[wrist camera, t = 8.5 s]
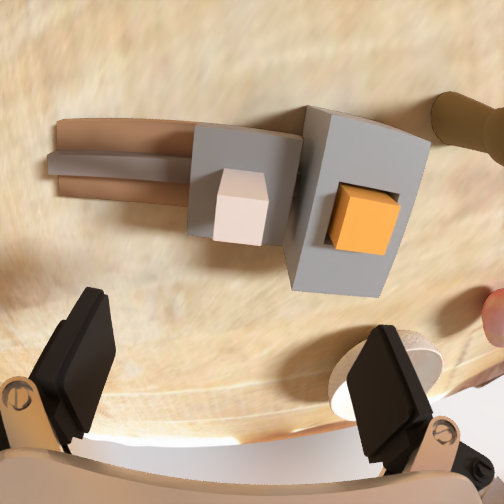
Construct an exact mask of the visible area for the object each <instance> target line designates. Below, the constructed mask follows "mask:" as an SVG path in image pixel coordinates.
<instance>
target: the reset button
mask: <svg viewBox="0 0 504 504" xmlns="http://www.w3.org/2000/svg"><path fill="white" fill-rule="evenodd" d="M400 207H401V206H400V205H399V204H398V203H396V202H395V201H394V200H393V199H392V198H391V197H390V196H389V195H388V194H387V193H386V192H385V191H383V190H380V189H375V188H370V187H365V186H360V185H355V184H350V183H344V182H339V184H338V188H337V193H336V197H335V201H334V205H333V209H332V213H331V216H330V220H329V224H328V228H327V232H328V234H329V236H330V238H331V240H332V242H333V245H334V247H335V249H339V250H347V251H354V252H362V253H370V254H378V255H385V252H386V249H387V246H388V243H389V241H390V238H391V235H392V232H393V229H394V226H395V223H396V220H397V217H398V214H399V211H400Z"/></svg>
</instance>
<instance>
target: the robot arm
mask: <svg viewBox="0 0 504 504" xmlns="http://www.w3.org/2000/svg"><path fill="white" fill-rule="evenodd" d="M115 353H116V347H115V341H114V335H113V328H112V322H111V314H110V307H109V299H108V295H105V294H104V292H103V290H101V289H96V288H91V287H86V288H85V290H84V291H83V293H82V294H81V296H80V298H79V299H78V301H77V303H76V304H75V306H74V307H73V309H72V311H71V312H70V314H69V316H68V318H67V319H66V320H62V321H60V323H59V324H58V325H57V327H56V329H55V331H54V332H53V334H52V336H51V338H50V339H49V341H48V343H47V345H46V346H45V348H44V350H43V352H42V354H41V355H40V357H39V359H38V361H37V363H36V365H35V367H34V368H33V370H32V372H31V374H30V376H29V378H26V377H20V376H17V377H12V378H10V379H8V380H6V381H5V382H4V383H3V384H2V386H1V387H0V504H504V483H503V482H502V480H501V479H500V478H499V477H498V476H497V477H495V478H494V473H495V472H494V467H493V464H492V463H491V461H490V460H489V459H488V458H487V457H485V456H484V455H482V454H480V453H479V452H477V451H475V450H474V449H472V448H470V447H469V446H467V445H466V444H464V443H462V442H461V441H460V431H459V428H458V426H457V425H456V424H455V422H454V421H453V420H451V419H450V418H448V417H445V416H437V417H435V418H433V417H432V413H433V411H432V409H431V406H430V404H429V401H428V399H427V397H426V394H425V392H424V390H423V387H422V385H421V383H420V380H419V378H418V376H417V373H416V371H415V369H414V367H413V364H412V362H411V360H410V358H409V356H408V354H407V351H406V349H405V347H404V345H403V343H402V341H401V339H400V337H399V334H398V332H397V330H396V328H395V327H394V326H393V325H378V326H377V327H376V328H374V329H373V330H372V331H371V333H370V335H369V337H368V339H367V340H366V342H365V344H364V346H363V348H362V350H361V351H360V353H359V355H358V357H357V359H356V360H355V362H354V364H353V366H352V367H351V369H350V371H349V372H348V374H347V378H346V383H347V387H348V391H349V395H350V398H351V402H352V406H353V410H354V414H355V418H356V422H357V426H358V430H359V435H360V439H361V443H362V447H363V452H364V455H365V456H367V457H368V459H369V463H376V462H383V466H384V467H383V469H382V471H381V473H380V475H379V476H378V477H376V478H368V479H361V480H354V481H344V482H333V483H320V484H303V485H302V484H300V485H249V484H230V483H217V482H206V481H197V480H189V479H182V478H175V477H168V476H162V475H156V474H151V473H146V472H141V471H136V470H131V469H127V468H122V467H117V466H114V465H110V464H105V463H102V462H98V461H94V460H90V459H87V458H82V457H79V456H75V455H74V454H73V452H72V450H71V448H70V446H69V444H70V443H71V440H72V437H76V438H79V439H82V438H83V435H84V433H88V432H89V431H90V428H91V425H92V421H93V418H94V415H95V412H96V409H97V406H98V403H99V400H100V397H101V394H102V391H103V388H104V386H105V383H106V380H107V377H108V374H109V371H110V369H111V366H112V363H113V361H114V358H115Z"/></svg>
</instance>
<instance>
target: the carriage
mask: <svg viewBox="0 0 504 504" xmlns="http://www.w3.org/2000/svg"><path fill="white" fill-rule="evenodd" d="M302 145H303V139H302V138H301V137H300V136H299V135H295V134H289V133H283V132H276V131H270V130H263V129H256V128H248V127H240V126H232V125H223V124H213V123H202V122H200V123H198V124H197V125H196V126H195V132H194V142H193V153H192V164H191V176H190V189H189V204H188V220H187V235H190V236H199V237H208V238H213V241H222V242H230V243H239V244H248V245H256V246H261V244H268V245H276V246H282V245H283V240H284V235H285V231H286V226H287V221H288V216H289V211H290V206H291V201H292V196H293V191H294V186H295V181H296V176H297V171H298V166H299V161H300V155H301V150H302Z"/></svg>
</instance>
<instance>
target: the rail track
mask: <svg viewBox="0 0 504 504" xmlns="http://www.w3.org/2000/svg"><path fill="white" fill-rule="evenodd" d="M198 123H200V122H191V121H177V120H160V119H133V118H80V119H63V120H59V121H57V150H56V151H54V152H52V153H50V154H48V155H47V165H48V175H58V178H59V191H60V196H70V197H84V198H97V199H109V200H121V201H132V202H143V203H154V204H164V205H174V206H184V207H188V204H189V189H190V176H191V164H192V153H193V142H194V132H195V126H196V125H197V124H198ZM202 123H203V122H202ZM299 136H300V137H301V138H302V139H303V144H304V137H303V136H301V135H299ZM302 149H303V145H302ZM301 154H302V150H301ZM300 159H301V155H300ZM299 165H300V161H299ZM301 178H302V175H301V173H300V172H299V166H298V171H297V176H296V181H295V186H294V191H293V196H292V200H293V197H298V193H299V188H300V183H301ZM291 205H292V201H291ZM290 210H291V206H290ZM289 215H290V211H289ZM288 219H289V216H288Z"/></svg>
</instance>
